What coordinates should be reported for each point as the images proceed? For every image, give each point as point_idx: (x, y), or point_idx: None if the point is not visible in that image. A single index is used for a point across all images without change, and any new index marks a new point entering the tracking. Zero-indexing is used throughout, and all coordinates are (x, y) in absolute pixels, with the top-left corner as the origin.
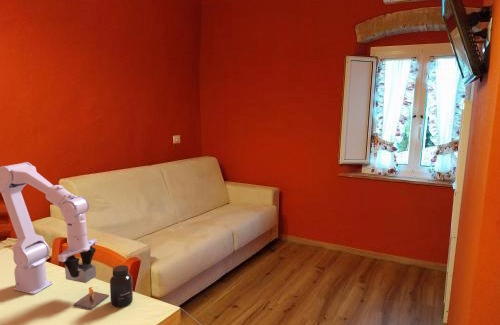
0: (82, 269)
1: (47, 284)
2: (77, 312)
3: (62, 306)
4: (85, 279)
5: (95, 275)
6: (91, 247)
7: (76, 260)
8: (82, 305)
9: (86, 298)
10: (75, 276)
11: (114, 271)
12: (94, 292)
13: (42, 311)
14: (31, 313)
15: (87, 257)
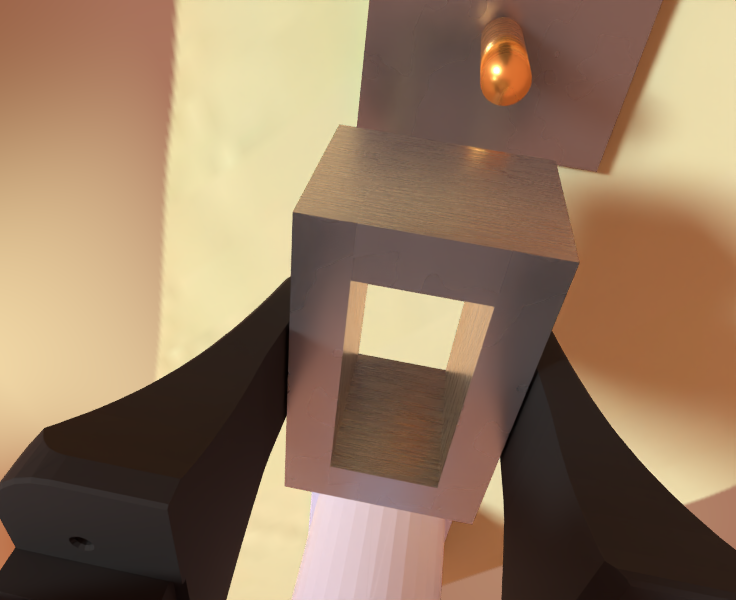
0: (491, 331)
1: None
2: (729, 52)
3: (607, 247)
4: (554, 184)
5: (349, 133)
6: (34, 558)
7: (713, 582)
8: (631, 65)
9: (493, 105)
10: (553, 338)
11: None
12: (371, 92)
13: (677, 342)
14: (698, 390)
15: (244, 433)
